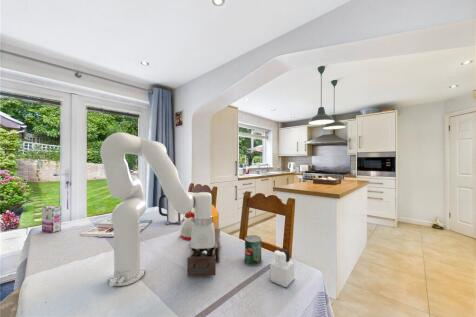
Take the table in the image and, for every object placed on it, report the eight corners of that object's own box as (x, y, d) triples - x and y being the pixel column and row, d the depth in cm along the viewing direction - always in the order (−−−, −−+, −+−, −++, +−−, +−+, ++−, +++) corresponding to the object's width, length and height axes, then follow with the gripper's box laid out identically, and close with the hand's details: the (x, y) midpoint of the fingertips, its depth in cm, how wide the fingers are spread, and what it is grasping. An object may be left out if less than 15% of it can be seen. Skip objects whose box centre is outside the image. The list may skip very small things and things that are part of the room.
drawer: (214, 282, 77) (214, 263, 77) (184, 283, 77) (184, 264, 77) (217, 255, 99) (217, 240, 99) (194, 256, 98) (194, 241, 98)
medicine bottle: (278, 272, 86) (278, 245, 86) (293, 279, 81) (294, 250, 81) (269, 280, 80) (269, 251, 80) (286, 288, 76) (286, 256, 76)
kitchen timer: (192, 241, 117) (192, 216, 117) (176, 236, 124) (176, 213, 124) (207, 234, 129) (207, 211, 129) (192, 230, 136) (192, 208, 136)
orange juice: (201, 240, 119) (201, 207, 119) (207, 234, 128) (207, 203, 127) (213, 242, 117) (213, 208, 117) (219, 236, 125) (219, 204, 125)
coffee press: (179, 217, 163) (179, 181, 163) (188, 222, 151) (188, 183, 151) (158, 222, 152) (158, 183, 152) (166, 227, 140) (165, 185, 140)
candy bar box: (61, 230, 135) (61, 206, 135) (52, 233, 130) (52, 208, 130) (50, 228, 139) (50, 205, 138) (41, 231, 134) (41, 206, 134)
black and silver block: (207, 265, 86) (207, 256, 86) (198, 265, 85) (198, 257, 85) (208, 256, 93) (208, 248, 93) (201, 256, 93) (201, 249, 93)
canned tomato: (264, 260, 96) (264, 237, 96) (256, 267, 90) (256, 243, 90) (250, 255, 101) (250, 234, 101) (241, 262, 94) (241, 239, 94)
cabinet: (218, 262, 95) (218, 242, 95) (191, 262, 94) (191, 243, 94) (220, 245, 112) (220, 229, 112) (197, 245, 112) (197, 229, 112)
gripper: (182, 224, 83) (182, 267, 83) (221, 223, 84) (221, 266, 84) (186, 218, 91) (186, 258, 91) (222, 217, 92) (222, 257, 92)
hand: (203, 261), depth 88 cm, fingers closed on black and silver block, 3 cm apart
